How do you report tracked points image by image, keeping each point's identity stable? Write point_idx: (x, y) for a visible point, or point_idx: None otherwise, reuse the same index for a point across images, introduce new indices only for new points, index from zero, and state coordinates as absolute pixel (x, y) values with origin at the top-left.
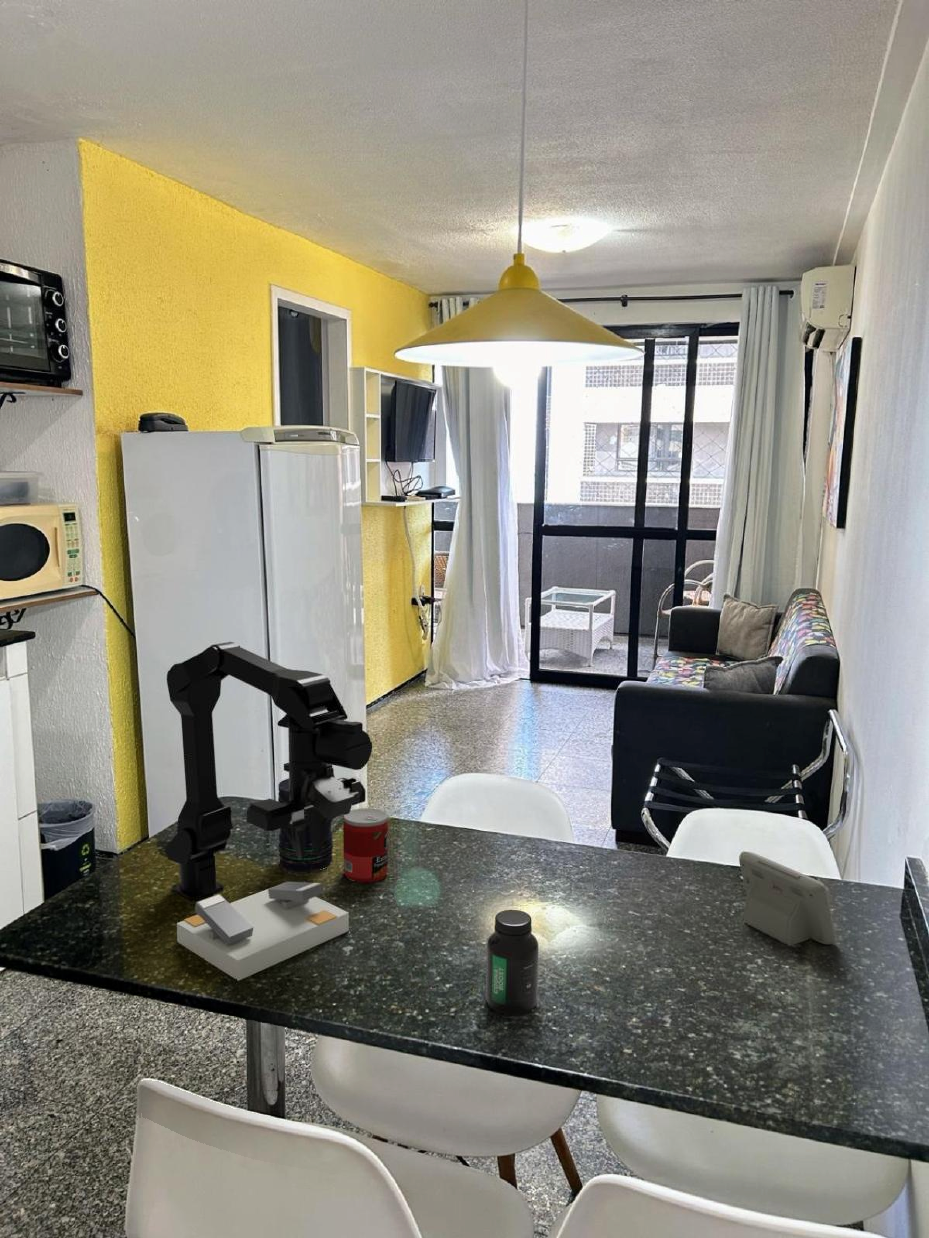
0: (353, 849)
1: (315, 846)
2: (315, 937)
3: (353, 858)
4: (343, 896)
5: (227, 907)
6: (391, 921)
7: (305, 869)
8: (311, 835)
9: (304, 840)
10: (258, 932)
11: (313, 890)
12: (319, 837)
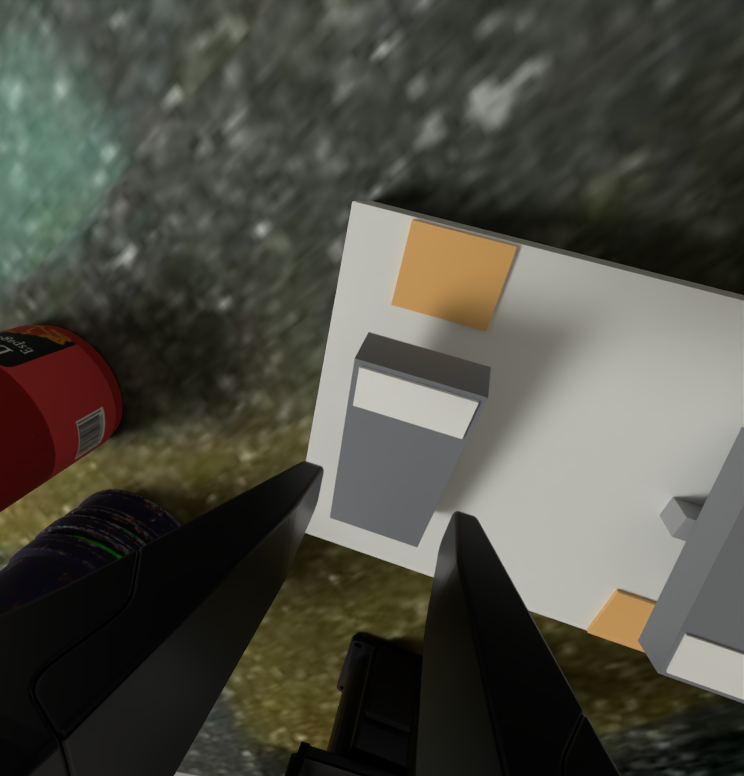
0: (26, 441)
1: (299, 528)
2: (531, 243)
3: (58, 424)
4: (202, 365)
5: (719, 601)
6: (224, 93)
7: (170, 526)
8: (243, 646)
9: (506, 690)
10: (671, 426)
11: (418, 365)
12: (242, 570)
